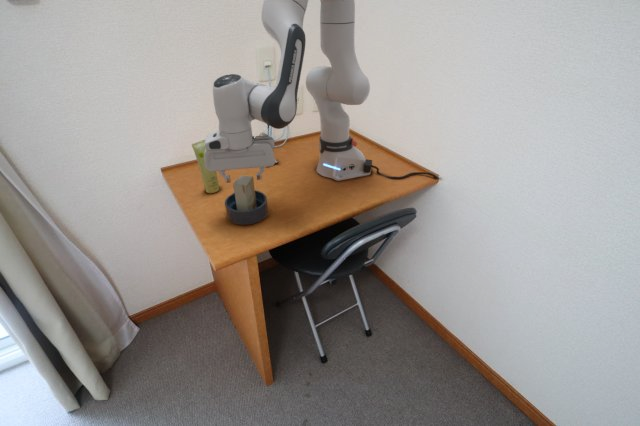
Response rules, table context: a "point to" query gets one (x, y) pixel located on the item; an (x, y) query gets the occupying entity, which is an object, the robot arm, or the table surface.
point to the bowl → (249, 215)
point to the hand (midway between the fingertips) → (243, 180)
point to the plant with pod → (269, 138)
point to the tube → (208, 177)
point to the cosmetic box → (245, 193)
